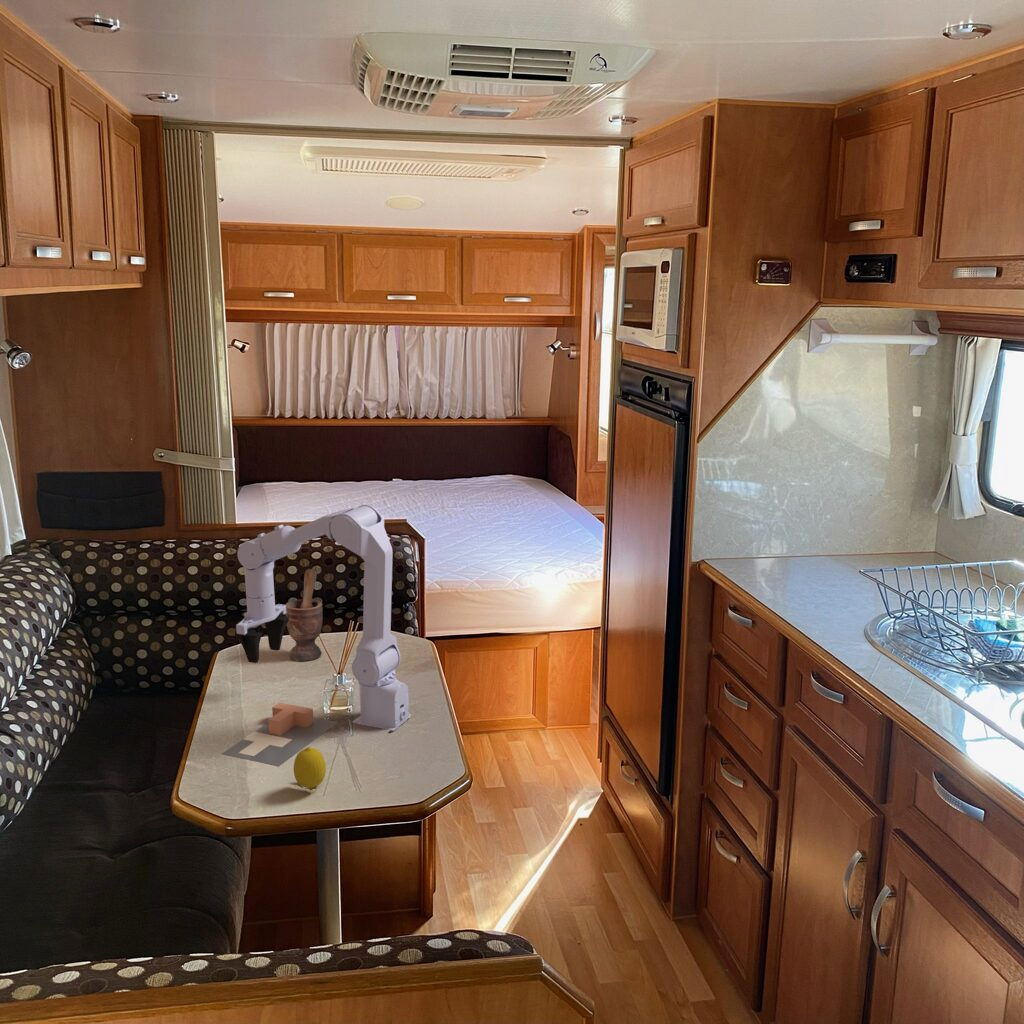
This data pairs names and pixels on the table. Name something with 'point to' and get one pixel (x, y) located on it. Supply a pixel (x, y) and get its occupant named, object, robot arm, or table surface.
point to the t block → (289, 718)
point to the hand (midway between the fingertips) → (264, 655)
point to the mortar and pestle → (305, 621)
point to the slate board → (278, 743)
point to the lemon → (309, 768)
